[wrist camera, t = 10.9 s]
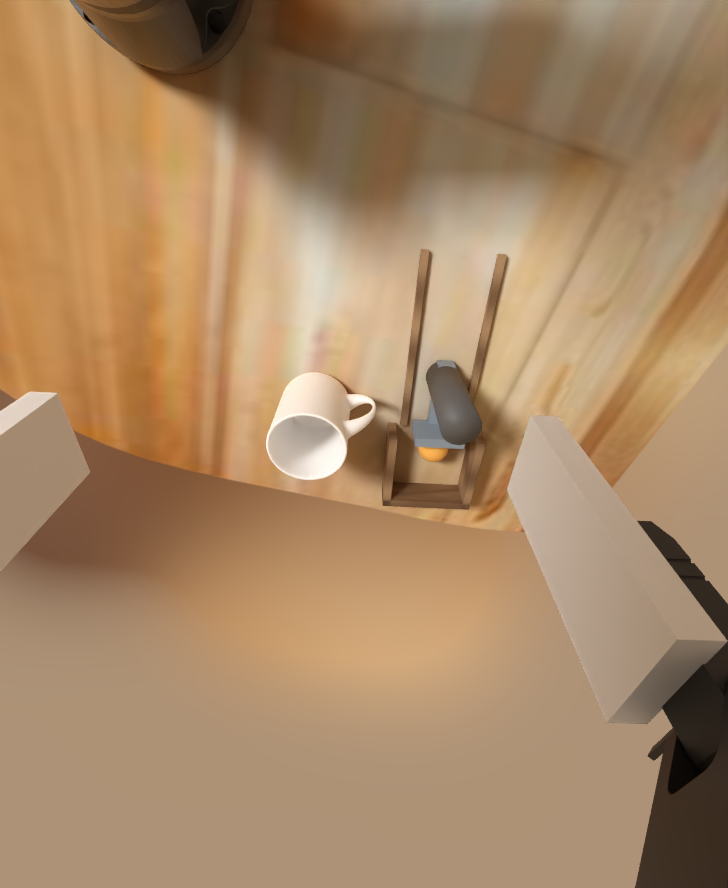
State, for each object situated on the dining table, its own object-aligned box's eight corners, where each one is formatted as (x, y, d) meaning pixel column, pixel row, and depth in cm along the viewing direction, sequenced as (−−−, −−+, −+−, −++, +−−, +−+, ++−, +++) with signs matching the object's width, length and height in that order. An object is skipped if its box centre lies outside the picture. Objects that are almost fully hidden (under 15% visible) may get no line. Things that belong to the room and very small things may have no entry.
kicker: (420, 359, 49) (433, 408, 39) (470, 362, 49) (496, 411, 39) (411, 424, 54) (420, 483, 44) (456, 427, 54) (476, 485, 44)
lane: (421, 249, 43) (421, 250, 42) (505, 254, 43) (506, 255, 42) (400, 423, 54) (400, 425, 54) (466, 426, 55) (467, 429, 54)
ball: (418, 465, 53) (414, 455, 56) (449, 467, 53) (443, 456, 57) (421, 435, 51) (417, 427, 55) (453, 437, 52) (447, 428, 55)
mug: (383, 416, 54) (386, 465, 45) (296, 435, 56) (283, 487, 47) (366, 355, 49) (366, 397, 40) (272, 379, 51) (252, 424, 42)
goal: (388, 422, 54) (389, 439, 51) (478, 427, 55) (485, 444, 51) (381, 487, 60) (382, 505, 57) (463, 490, 61) (468, 509, 57)
